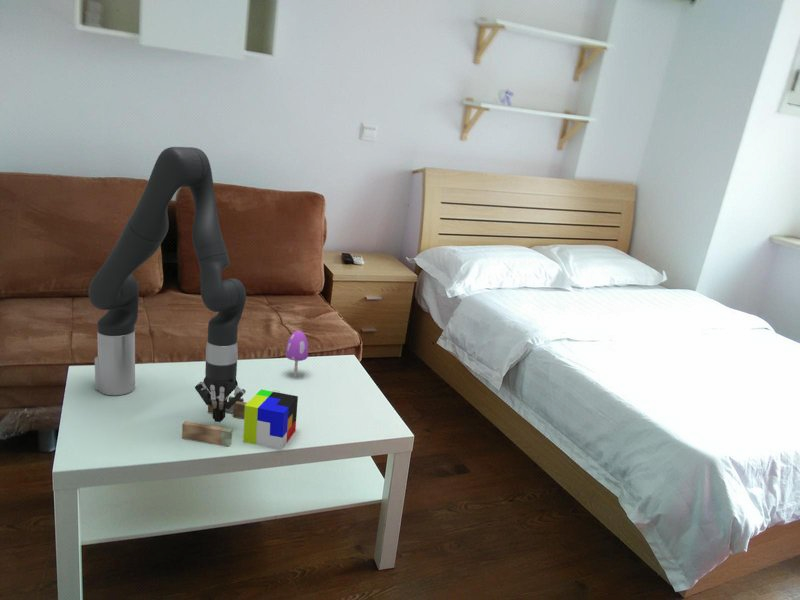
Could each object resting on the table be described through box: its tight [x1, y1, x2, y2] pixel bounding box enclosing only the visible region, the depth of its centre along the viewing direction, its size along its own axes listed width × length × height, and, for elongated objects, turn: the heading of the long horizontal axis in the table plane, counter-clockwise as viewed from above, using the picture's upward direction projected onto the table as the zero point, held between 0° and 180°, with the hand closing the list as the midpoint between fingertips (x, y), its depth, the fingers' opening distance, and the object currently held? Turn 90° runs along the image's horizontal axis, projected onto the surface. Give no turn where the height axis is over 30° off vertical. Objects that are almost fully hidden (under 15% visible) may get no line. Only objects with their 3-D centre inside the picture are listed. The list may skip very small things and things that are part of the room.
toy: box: [285, 330, 309, 378], centre depth 193 cm, size 7×7×15 cm
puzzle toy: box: [242, 389, 299, 450], centre depth 157 cm, size 10×10×10 cm
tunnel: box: [181, 395, 248, 447], centre depth 161 cm, size 12×22×4 cm, turn 172°
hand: (219, 420), depth 159 cm, fingers closed
